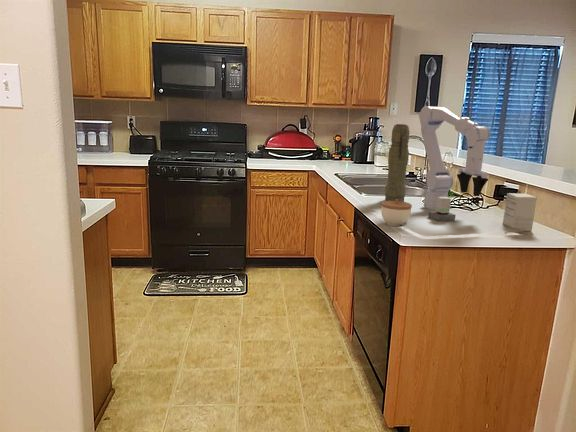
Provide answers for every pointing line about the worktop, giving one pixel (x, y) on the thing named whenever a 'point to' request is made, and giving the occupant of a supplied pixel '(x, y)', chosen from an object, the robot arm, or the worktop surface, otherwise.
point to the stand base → (441, 216)
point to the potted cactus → (397, 163)
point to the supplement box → (519, 211)
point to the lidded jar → (395, 212)
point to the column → (442, 205)
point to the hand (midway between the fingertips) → (469, 194)
